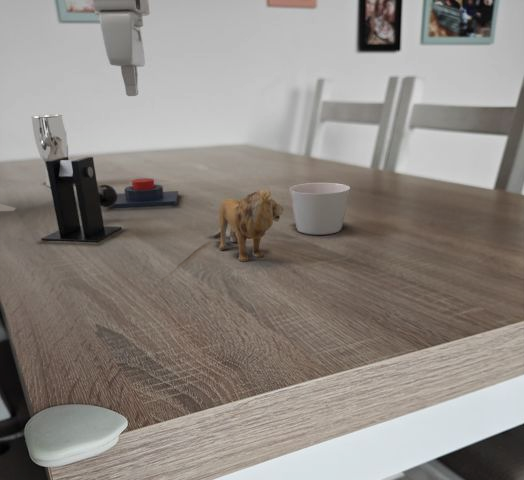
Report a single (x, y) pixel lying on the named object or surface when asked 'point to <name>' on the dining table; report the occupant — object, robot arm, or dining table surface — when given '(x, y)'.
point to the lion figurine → (248, 220)
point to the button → (143, 184)
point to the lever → (105, 191)
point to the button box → (145, 198)
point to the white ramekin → (319, 207)
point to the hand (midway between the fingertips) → (132, 95)
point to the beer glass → (50, 138)
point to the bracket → (67, 205)
